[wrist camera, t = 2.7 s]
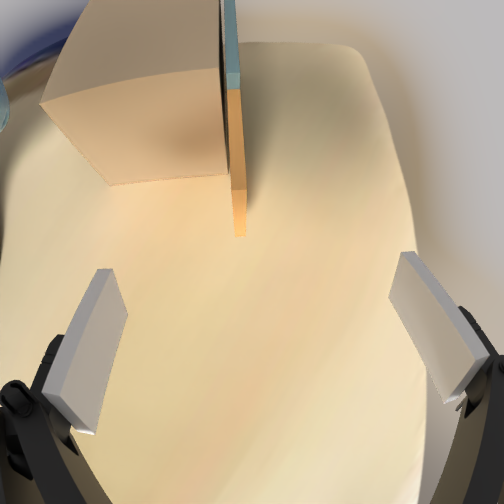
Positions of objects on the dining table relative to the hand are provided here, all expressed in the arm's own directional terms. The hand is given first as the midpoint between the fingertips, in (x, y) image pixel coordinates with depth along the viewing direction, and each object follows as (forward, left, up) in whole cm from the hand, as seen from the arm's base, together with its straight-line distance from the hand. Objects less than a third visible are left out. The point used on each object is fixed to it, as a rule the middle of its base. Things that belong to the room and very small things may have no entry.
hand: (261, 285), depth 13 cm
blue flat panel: (-6, +14, -12) cm, 19 cm away
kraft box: (-14, +15, -13) cm, 24 cm away
